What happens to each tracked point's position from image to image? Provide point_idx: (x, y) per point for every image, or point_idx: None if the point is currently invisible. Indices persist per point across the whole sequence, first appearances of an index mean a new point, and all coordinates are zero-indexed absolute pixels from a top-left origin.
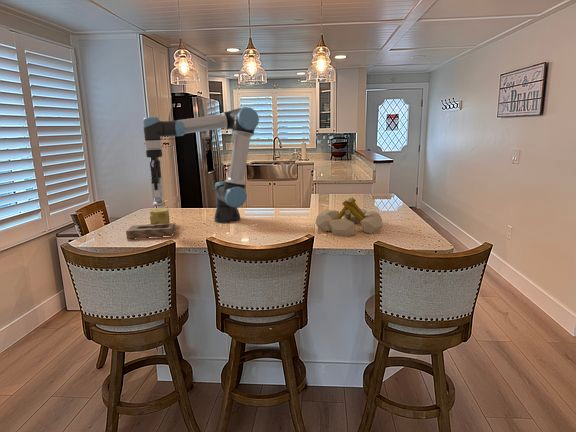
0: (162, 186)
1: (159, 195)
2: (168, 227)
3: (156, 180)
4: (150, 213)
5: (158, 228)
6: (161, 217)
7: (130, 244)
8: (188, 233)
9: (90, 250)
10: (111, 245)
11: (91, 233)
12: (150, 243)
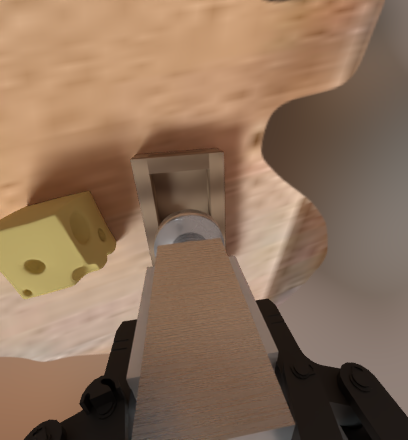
0: (162, 307)
1: (236, 260)
2: (204, 166)
3: (388, 397)
4: (80, 278)
5: (213, 199)
6: (72, 232)
7: (266, 241)
8: (173, 90)
9: (287, 298)
10: (262, 277)
11: None
12: (272, 195)
